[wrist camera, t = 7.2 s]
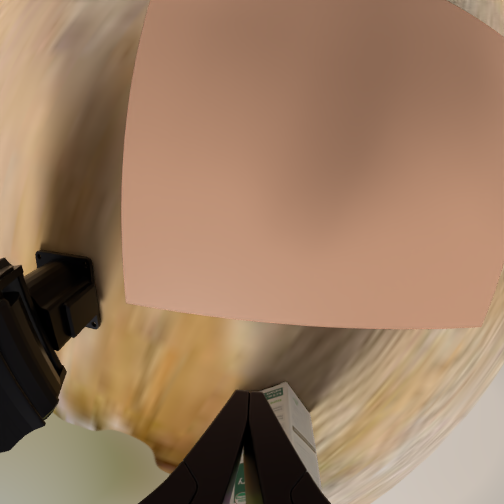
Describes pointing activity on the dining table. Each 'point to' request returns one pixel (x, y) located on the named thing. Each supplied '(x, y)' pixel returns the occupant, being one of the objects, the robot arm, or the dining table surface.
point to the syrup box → (295, 427)
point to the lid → (315, 163)
